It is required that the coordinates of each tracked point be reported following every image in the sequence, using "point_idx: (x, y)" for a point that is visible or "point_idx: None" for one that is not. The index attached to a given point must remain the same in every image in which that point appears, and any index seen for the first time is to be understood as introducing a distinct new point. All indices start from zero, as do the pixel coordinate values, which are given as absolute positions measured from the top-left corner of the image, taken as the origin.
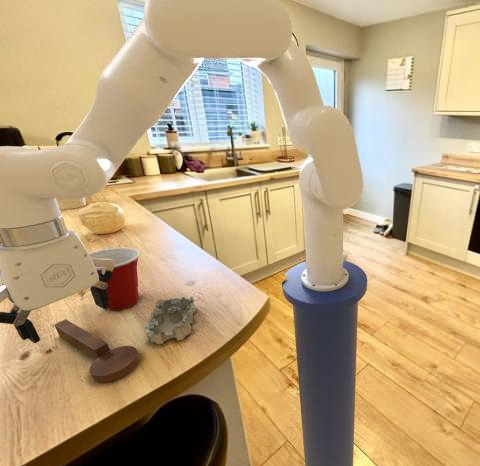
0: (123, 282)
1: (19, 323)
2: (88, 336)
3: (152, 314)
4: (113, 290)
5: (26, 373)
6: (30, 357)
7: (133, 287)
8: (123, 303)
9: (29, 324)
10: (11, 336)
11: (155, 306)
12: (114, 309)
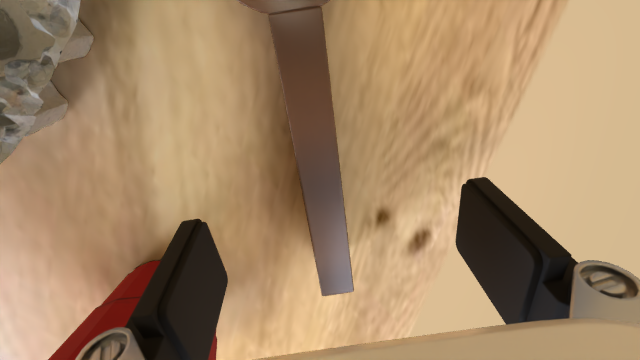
0: None
1: (600, 271)
2: (307, 142)
3: (41, 82)
4: None
5: (450, 166)
6: (416, 225)
7: (89, 319)
8: None
9: (547, 245)
10: (404, 326)
11: (18, 135)
12: None
